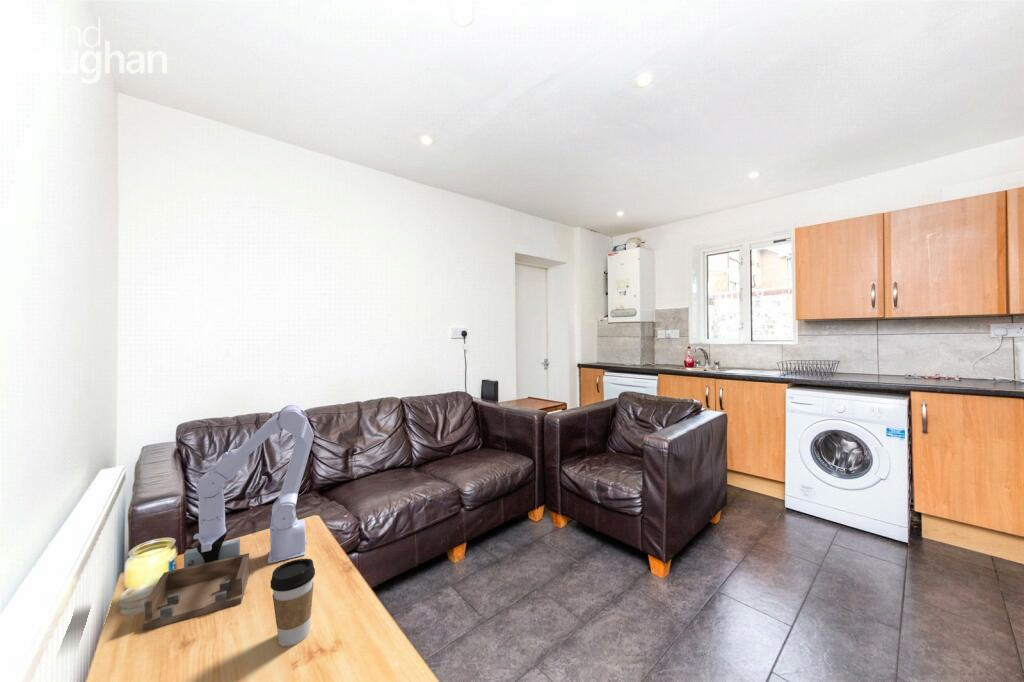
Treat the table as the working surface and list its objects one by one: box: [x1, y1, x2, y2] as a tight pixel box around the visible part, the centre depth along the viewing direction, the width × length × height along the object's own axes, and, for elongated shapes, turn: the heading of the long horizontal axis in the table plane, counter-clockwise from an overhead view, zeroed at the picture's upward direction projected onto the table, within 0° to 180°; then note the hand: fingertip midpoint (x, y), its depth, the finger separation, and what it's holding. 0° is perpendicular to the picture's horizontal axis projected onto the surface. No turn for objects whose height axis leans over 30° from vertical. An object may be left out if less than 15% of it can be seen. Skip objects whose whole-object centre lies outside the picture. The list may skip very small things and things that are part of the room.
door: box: [183, 538, 241, 568], centre depth 105 cm, size 12×3×7 cm, turn 118°
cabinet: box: [142, 552, 251, 632], centre depth 95 cm, size 18×14×6 cm
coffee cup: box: [270, 558, 316, 647], centre depth 82 cm, size 8×8×15 cm
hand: (213, 564), depth 105 cm, fingers closed on door, 2 cm apart
